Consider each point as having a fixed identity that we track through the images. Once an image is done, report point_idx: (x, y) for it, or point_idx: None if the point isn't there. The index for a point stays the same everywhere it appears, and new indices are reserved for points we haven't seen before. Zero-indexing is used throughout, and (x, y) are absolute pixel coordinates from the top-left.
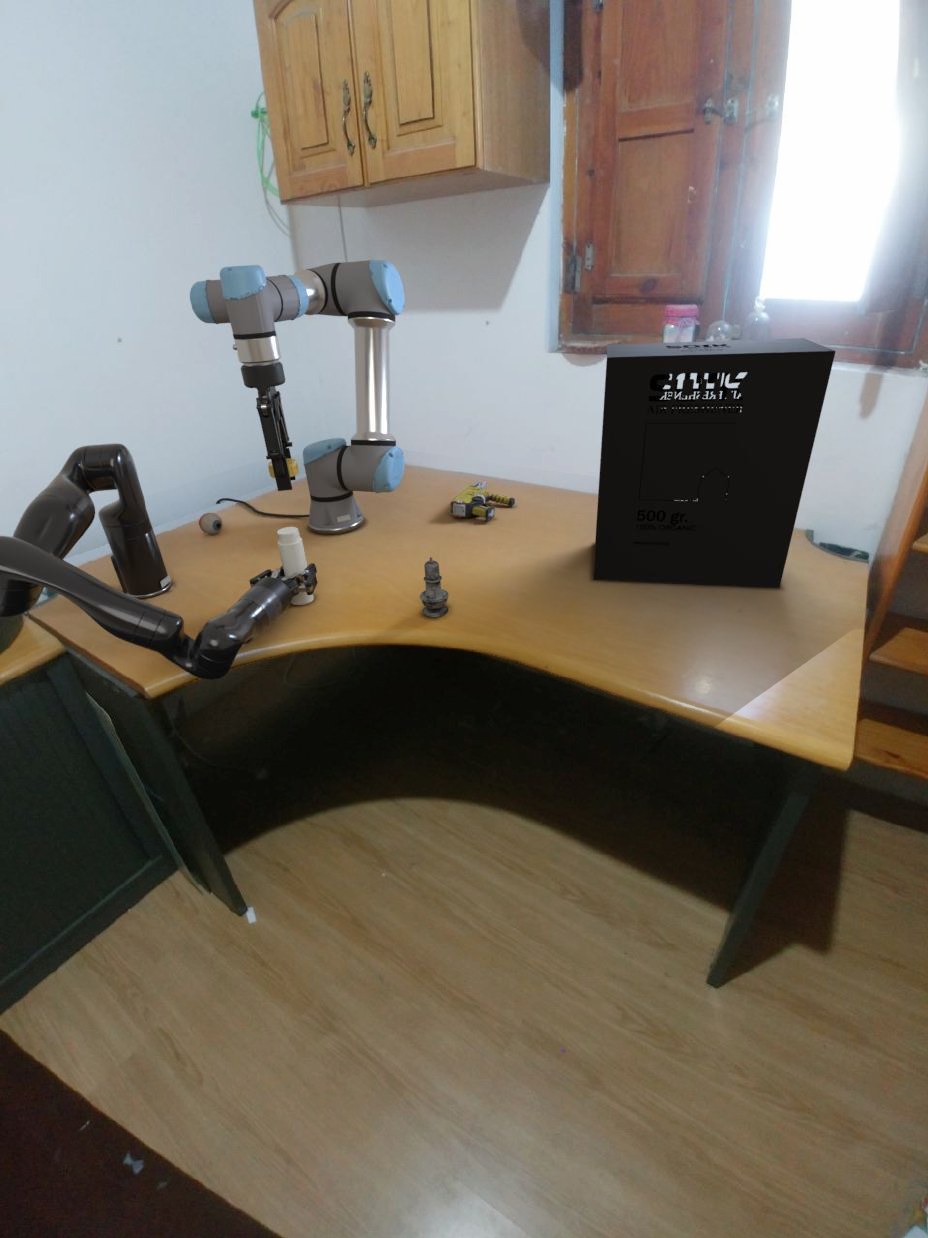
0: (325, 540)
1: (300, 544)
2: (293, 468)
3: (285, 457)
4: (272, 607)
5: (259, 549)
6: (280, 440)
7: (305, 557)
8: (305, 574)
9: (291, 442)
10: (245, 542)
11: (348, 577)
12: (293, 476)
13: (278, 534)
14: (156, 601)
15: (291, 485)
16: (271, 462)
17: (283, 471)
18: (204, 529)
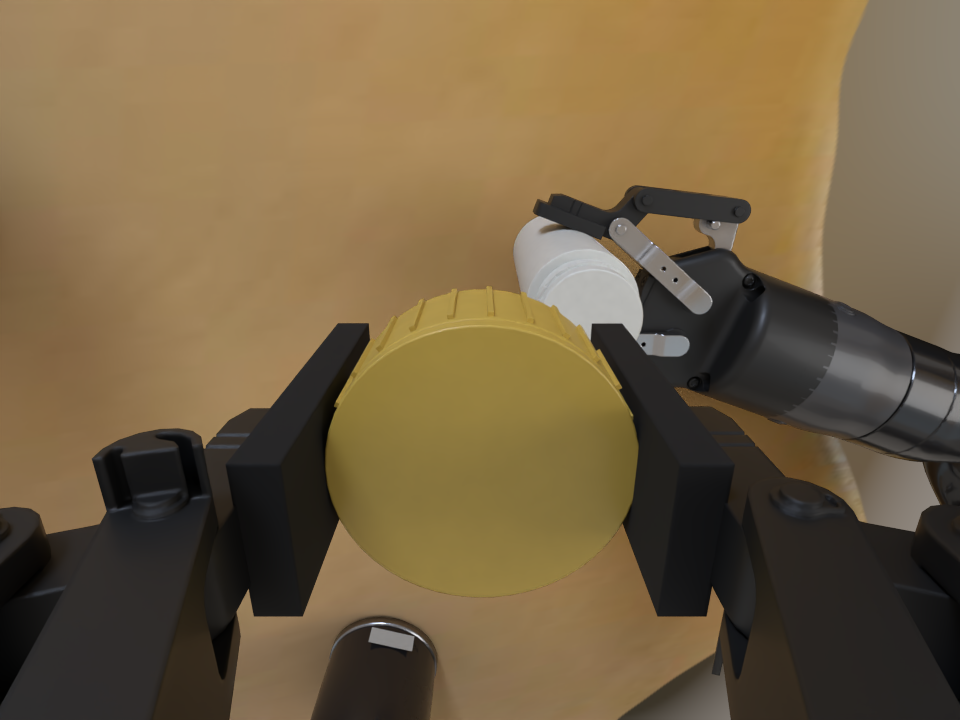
0: (41, 207)
1: (609, 253)
2: (577, 338)
3: (702, 458)
4: (875, 320)
5: (125, 436)
6: (926, 690)
7: (570, 235)
8: (637, 230)
9: (103, 461)
10: (64, 487)
11: (408, 91)
12: (364, 341)
13: None
14: (454, 627)
15: (608, 332)
16: (450, 574)
17: (735, 425)
18: None
